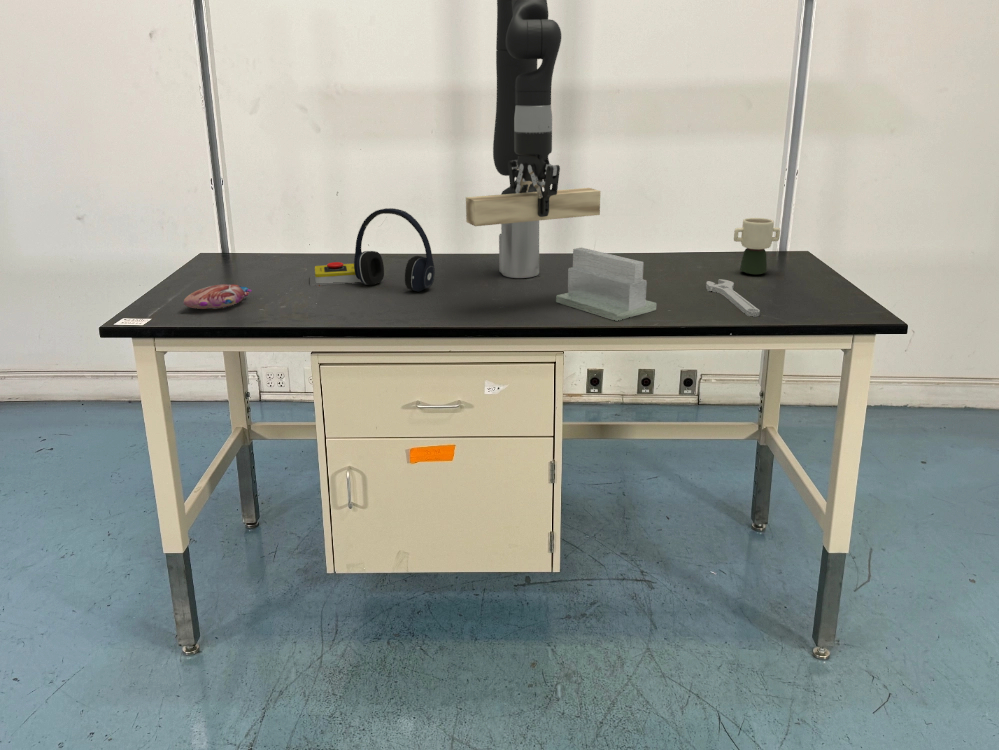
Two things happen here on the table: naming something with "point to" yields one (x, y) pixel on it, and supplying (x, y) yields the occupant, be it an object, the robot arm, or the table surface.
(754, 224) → the trophy cup
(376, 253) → the headphones
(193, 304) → the anatomical model
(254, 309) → the table surface
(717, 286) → the adjustable wrench
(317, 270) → the emergency button
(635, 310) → the stand
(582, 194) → the pine rod
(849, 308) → the table surface
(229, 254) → the table surface
